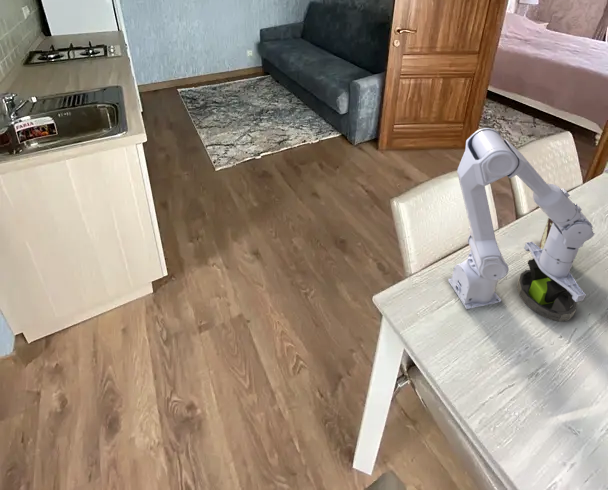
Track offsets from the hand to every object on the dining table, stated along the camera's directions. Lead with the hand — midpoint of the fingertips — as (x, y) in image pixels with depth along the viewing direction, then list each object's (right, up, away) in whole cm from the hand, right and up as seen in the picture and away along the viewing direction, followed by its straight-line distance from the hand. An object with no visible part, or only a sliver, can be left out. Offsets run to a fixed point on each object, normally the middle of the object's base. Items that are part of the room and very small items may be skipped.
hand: (542, 293), depth 84 cm
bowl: (+1, -2, +1) cm, 2 cm away
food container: (+10, +2, +11) cm, 15 cm away
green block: (0, -1, +1) cm, 2 cm away
